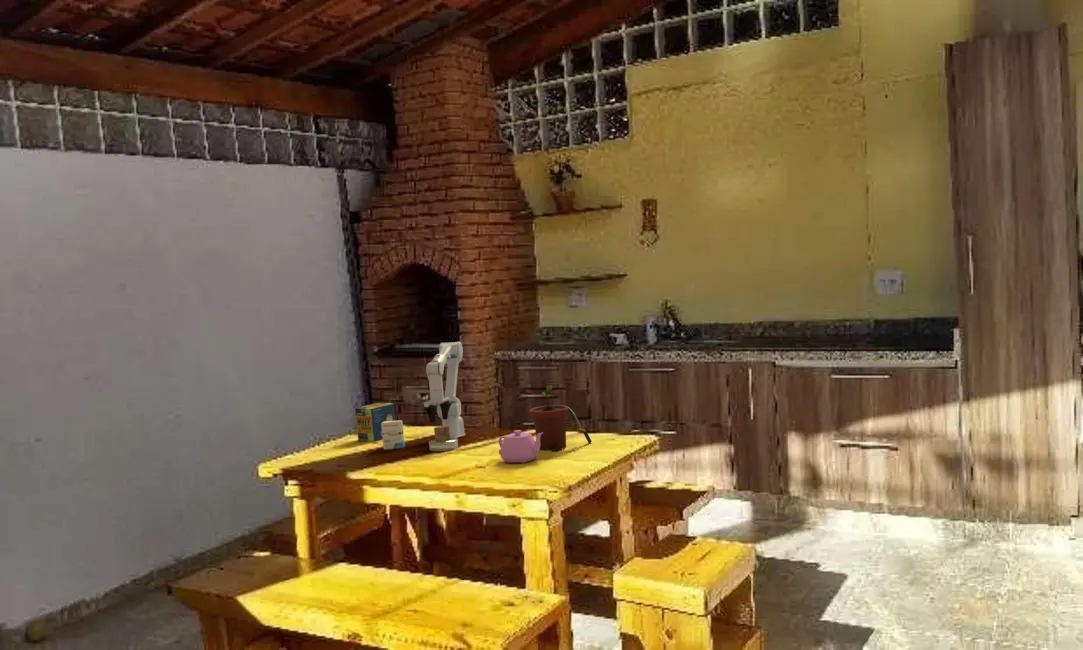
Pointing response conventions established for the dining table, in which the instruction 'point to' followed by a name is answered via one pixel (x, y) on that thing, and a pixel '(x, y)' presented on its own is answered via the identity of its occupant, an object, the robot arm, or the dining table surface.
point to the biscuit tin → (443, 445)
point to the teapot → (519, 447)
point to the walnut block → (442, 433)
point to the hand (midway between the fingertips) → (439, 420)
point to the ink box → (393, 434)
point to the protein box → (373, 420)
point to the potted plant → (553, 424)
